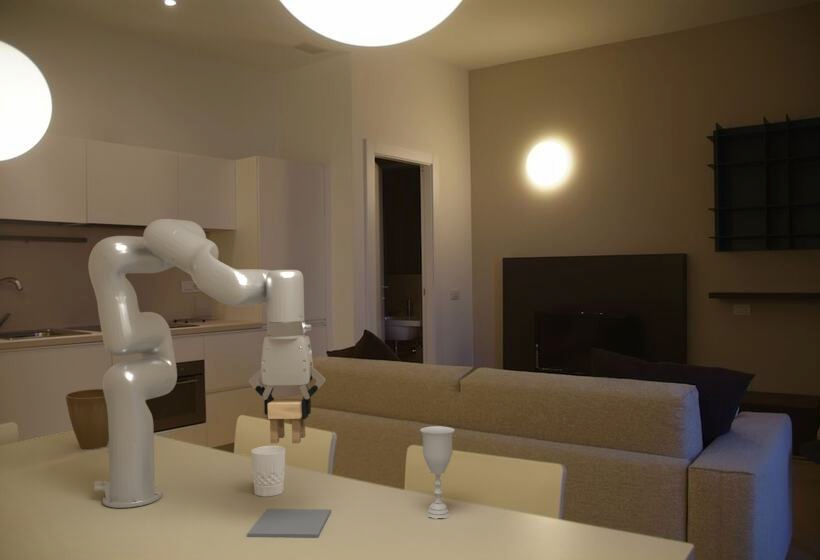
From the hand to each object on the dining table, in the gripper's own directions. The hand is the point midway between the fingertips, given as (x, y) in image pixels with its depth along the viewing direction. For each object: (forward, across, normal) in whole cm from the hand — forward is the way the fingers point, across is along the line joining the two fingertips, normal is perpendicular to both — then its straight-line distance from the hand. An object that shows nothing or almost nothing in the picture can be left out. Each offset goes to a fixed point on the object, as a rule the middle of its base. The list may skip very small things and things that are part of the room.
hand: (287, 417), depth 143 cm
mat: (+22, 0, 0) cm, 22 cm away
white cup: (+22, +10, -20) cm, 31 cm away
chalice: (+22, -30, -6) cm, 38 cm away
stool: (+5, 0, 0) cm, 5 cm away
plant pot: (+22, +74, -61) cm, 98 cm away
